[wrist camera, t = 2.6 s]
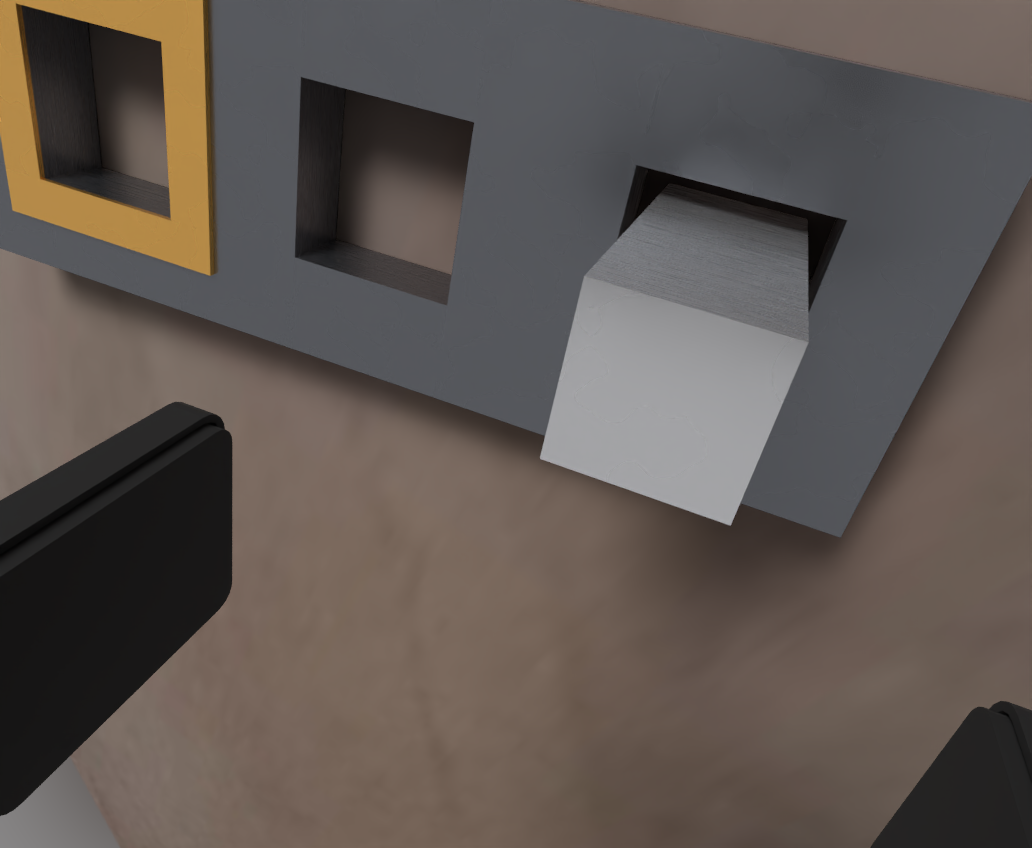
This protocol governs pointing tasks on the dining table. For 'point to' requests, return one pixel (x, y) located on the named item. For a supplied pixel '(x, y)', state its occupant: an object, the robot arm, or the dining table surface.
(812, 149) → the rail
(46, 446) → the dining table surface
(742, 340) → the steel peg
